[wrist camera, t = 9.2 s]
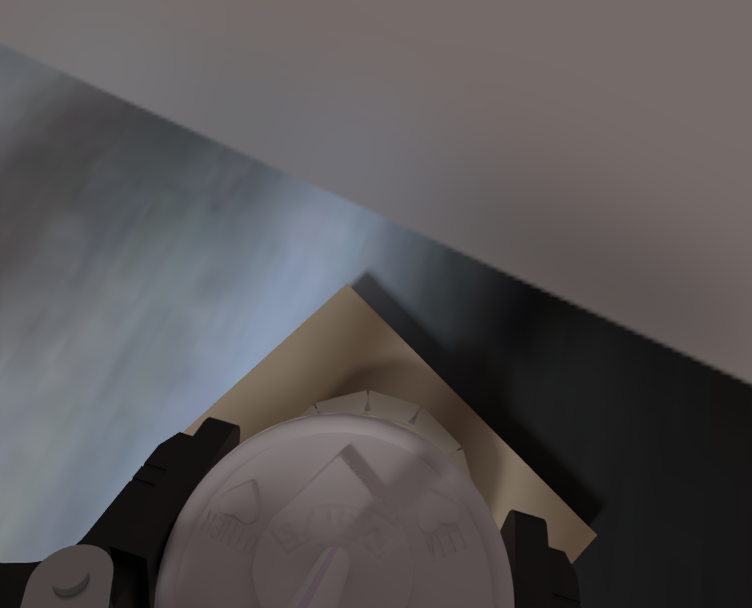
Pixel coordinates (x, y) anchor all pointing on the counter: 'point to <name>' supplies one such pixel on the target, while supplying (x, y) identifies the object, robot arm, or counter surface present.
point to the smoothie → (335, 525)
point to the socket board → (398, 374)
